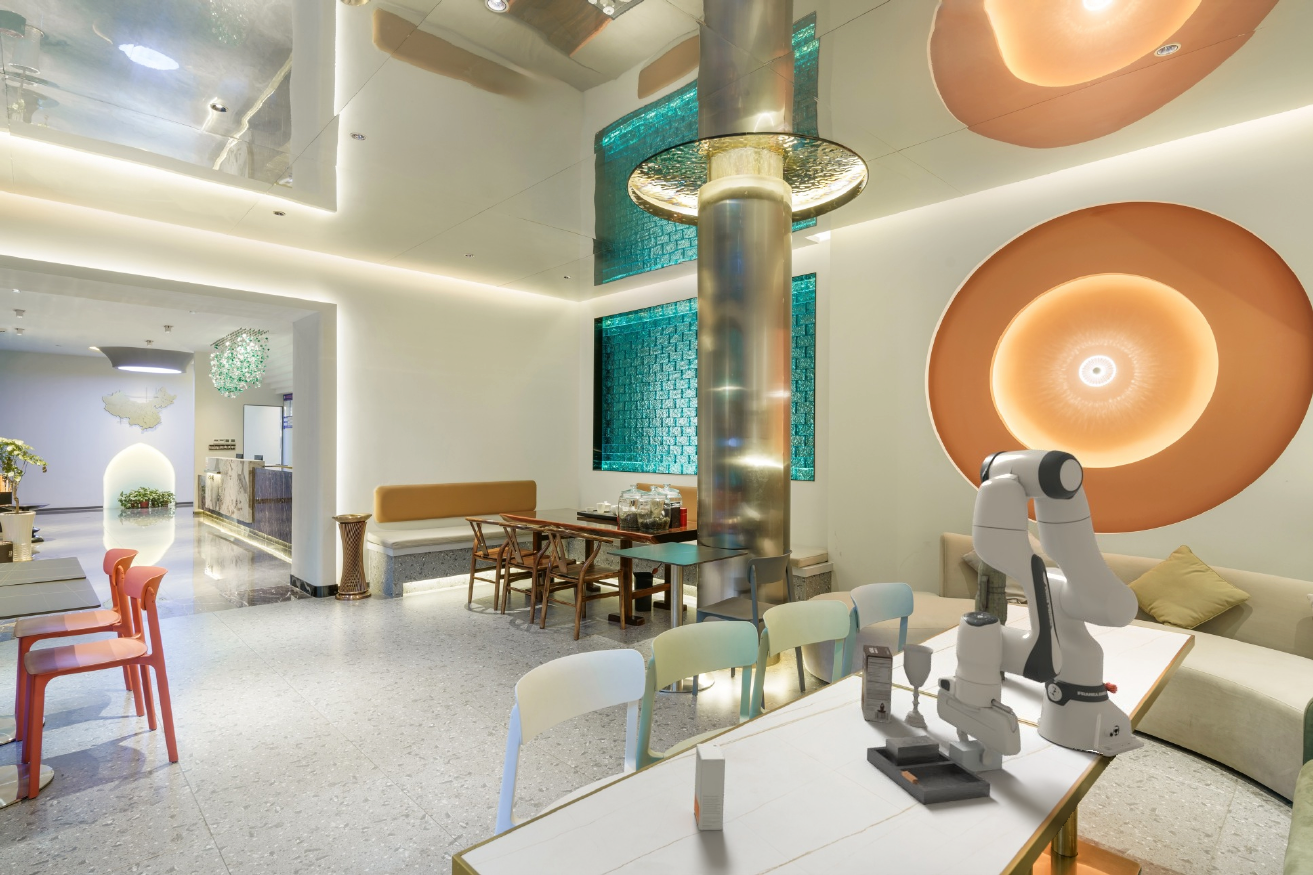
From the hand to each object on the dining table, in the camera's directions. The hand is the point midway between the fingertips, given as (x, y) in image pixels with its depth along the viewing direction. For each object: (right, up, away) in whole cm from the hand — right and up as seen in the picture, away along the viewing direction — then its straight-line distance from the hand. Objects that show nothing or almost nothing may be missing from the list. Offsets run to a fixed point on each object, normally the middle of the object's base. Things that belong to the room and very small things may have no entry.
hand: (975, 757), depth 139 cm
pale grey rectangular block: (0, -2, 0) cm, 2 cm away
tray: (-13, -1, -6) cm, 14 cm away
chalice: (-4, -2, +22) cm, 22 cm away
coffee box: (-13, -2, +26) cm, 29 cm away
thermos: (+33, -5, +59) cm, 68 cm away
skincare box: (-58, +1, -25) cm, 64 cm away
